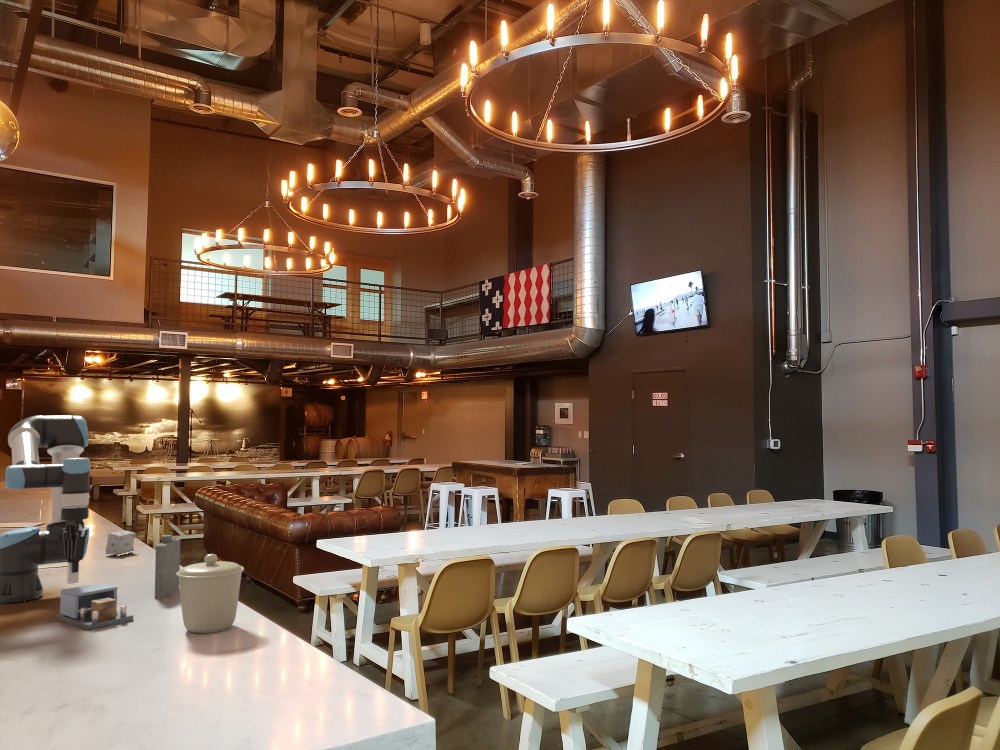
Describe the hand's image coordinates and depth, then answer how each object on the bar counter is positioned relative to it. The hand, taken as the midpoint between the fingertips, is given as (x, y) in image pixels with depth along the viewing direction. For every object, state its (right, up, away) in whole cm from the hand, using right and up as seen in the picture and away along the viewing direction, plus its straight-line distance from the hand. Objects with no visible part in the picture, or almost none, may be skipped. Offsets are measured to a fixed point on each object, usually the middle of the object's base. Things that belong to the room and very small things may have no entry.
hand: (72, 582), depth 228 cm
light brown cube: (+17, -7, -13) cm, 22 cm away
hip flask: (+18, -11, +25) cm, 33 cm away
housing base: (+13, -8, -10) cm, 18 cm away
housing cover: (+9, -7, -7) cm, 13 cm away
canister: (+51, -8, -20) cm, 55 cm away
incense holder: (-38, -17, +103) cm, 111 cm away
